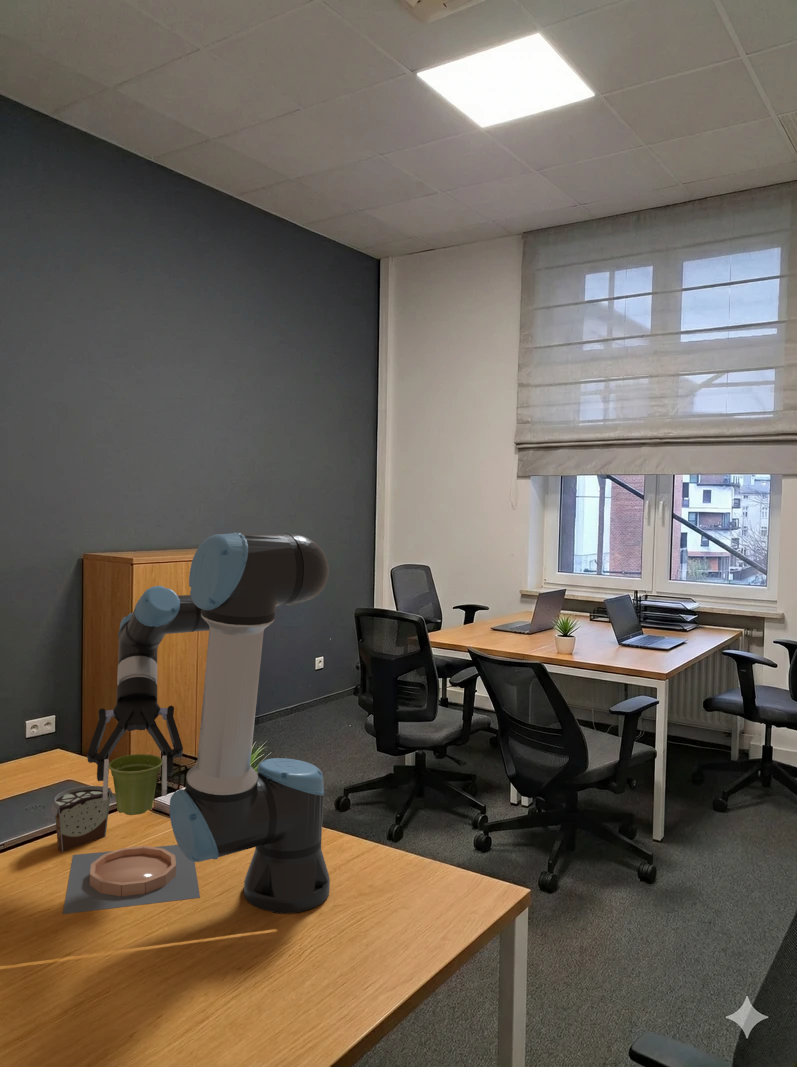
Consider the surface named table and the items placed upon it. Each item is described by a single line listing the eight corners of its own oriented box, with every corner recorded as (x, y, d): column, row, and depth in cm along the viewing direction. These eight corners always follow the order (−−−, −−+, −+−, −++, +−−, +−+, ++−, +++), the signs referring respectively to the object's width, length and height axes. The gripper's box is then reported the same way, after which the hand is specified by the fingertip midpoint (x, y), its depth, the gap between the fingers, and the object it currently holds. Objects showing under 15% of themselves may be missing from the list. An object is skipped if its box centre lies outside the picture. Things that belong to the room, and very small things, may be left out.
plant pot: (108, 822, 137) (110, 773, 136) (105, 802, 145) (106, 756, 145) (164, 816, 141) (165, 768, 140) (158, 796, 149) (159, 751, 149)
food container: (94, 827, 164) (95, 780, 163) (111, 836, 160) (113, 787, 159) (37, 847, 154) (38, 797, 153) (55, 856, 150) (56, 805, 150)
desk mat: (191, 845, 157) (191, 843, 157) (200, 899, 136) (200, 897, 136) (72, 857, 150) (72, 854, 150) (62, 916, 129) (62, 913, 129)
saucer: (173, 853, 152) (173, 843, 152) (177, 889, 139) (177, 878, 138) (92, 861, 148) (92, 851, 148) (87, 900, 134) (88, 888, 134)
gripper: (193, 692, 160) (197, 798, 146) (77, 697, 153) (69, 808, 139) (196, 673, 155) (200, 780, 141) (76, 676, 148) (67, 790, 134)
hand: (135, 794), depth 140 cm, fingers closed on plant pot, 9 cm apart
